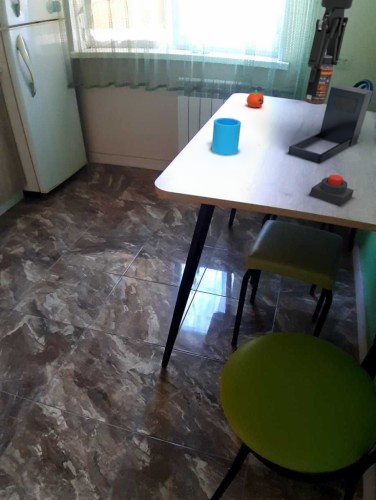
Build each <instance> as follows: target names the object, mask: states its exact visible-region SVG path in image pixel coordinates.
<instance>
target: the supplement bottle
mask: <svg viewBox="0 0 376 500" xmlns="http://www.w3.org/2000/svg"><path fill="white" fill-rule="evenodd" d="M331 62H332V56H329V55H326V54H325V55H324V58H323V61H322V64H321V67H320V68H321V69H322V70H321V75H320V79H319V84H318V88H317V93H316V96H311V95H307V94H306V92H307V89H306V90H305V91H306V92H305V95H304V101H305V102H306V103H307V104H311V105H323V104H324V103H326V100H327V96H328V92H329V88H330V84H331V80H332V76H333V71H334V66H333V67H332V66H331ZM310 73H311V71H310V72H309V74H310ZM309 78H310V75H309V77H308V79H309ZM308 82H309V80H308ZM308 82H307V83H308ZM307 87H308V85H307V86H306V88H307Z"/></svg>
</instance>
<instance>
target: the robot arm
mask: <svg viewBox="0 0 376 500" xmlns="http://www.w3.org/2000/svg"><path fill="white" fill-rule="evenodd" d="M353 1H354V0H321V3H320V6H321V7H322V8H325V10H324V13H323V15H322V18H321V19H316V21H315V28H314V29H315V30H314V35H313V39H312V44H311V49H310V53H309V57H308V61H307V67H308V68H310V72H311V73H310V72H309V76H310V78H309V77H308V81H309V82H307V86H308V87H307V86H306V90H307V92H305V95H306V94H307V95H311V96H316V93H317V88H318V84H319V79H320V75H321V70H322V69H321V68H320V67H321V64H322V61H323V58H324V55H329V56H332V62H331V66H332V67H333V68H334V66H337V65H338V64H339V63H338V61H339V58H340V54H341V50H342V45H343V40H344V37H345V32H346V27H347V25H348V22H349V17H347V16H345V10H349V9H351V8H352V6H353Z"/></svg>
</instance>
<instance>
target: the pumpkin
mask: <svg viewBox="0 0 376 500" xmlns="http://www.w3.org/2000/svg"><path fill="white" fill-rule="evenodd" d="M264 100H265V99H264V95H263V94H262V93H260V92H258V89H255V91H254V92H250V93H249V94H248V96H247V97H246V103H247V105H248V106H249V107H251V108H260V107H262V106H263V104H264V102H265V101H264Z"/></svg>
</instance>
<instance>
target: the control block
mask: <svg viewBox="0 0 376 500" xmlns="http://www.w3.org/2000/svg"><path fill="white" fill-rule="evenodd" d="M328 179H329V176H328V177H324V178H322V179H321V181H320V182H318V183H316V184H315V185H313V186H312V187H311V189H310V192H309V196H310V197H314V198H316V199H319V200H322V201H325V202H328V203H330V204H333V205H337V206H339V207H341V206H343V205H344V204H345V203H347V202H348V201H349V200H351V199H352V197H353V194H354V191H355V190H354V189H352V188H349V187H348V182H347V181H346V180H345V179H343V181H342V184H341V185H339V186H336V185H331V184H329V183H327V182H328Z"/></svg>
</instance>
